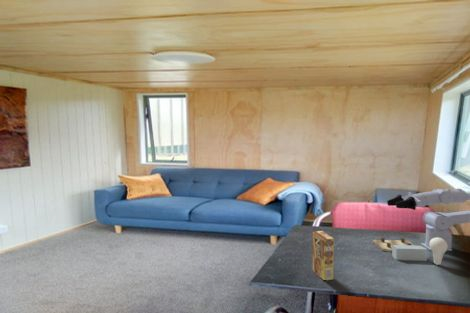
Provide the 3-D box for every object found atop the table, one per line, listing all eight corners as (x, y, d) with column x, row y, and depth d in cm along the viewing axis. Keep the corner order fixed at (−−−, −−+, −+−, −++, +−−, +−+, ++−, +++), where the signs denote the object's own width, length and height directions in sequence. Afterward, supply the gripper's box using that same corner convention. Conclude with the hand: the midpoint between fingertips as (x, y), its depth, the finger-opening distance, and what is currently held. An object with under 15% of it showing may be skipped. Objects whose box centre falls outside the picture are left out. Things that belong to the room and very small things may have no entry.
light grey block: (421, 257, 132) (422, 245, 131) (426, 261, 128) (427, 249, 127) (392, 256, 133) (392, 244, 132) (396, 260, 129) (396, 248, 128)
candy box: (334, 280, 112) (334, 238, 110) (323, 281, 111) (324, 239, 109) (321, 269, 120) (322, 230, 119) (311, 270, 119) (312, 231, 118)
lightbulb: (447, 264, 124) (449, 237, 123) (445, 269, 119) (446, 241, 118) (430, 260, 128) (431, 234, 127) (426, 265, 123) (427, 238, 123)
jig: (407, 242, 148) (407, 236, 148) (420, 252, 136) (420, 246, 136) (372, 241, 150) (373, 236, 149) (382, 251, 138) (382, 245, 138)
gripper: (411, 189, 147) (382, 193, 147) (430, 192, 133) (398, 197, 133) (413, 204, 147) (385, 208, 147) (433, 208, 133) (401, 213, 132)
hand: (391, 204), depth 140 cm, fingers open, 7 cm apart
